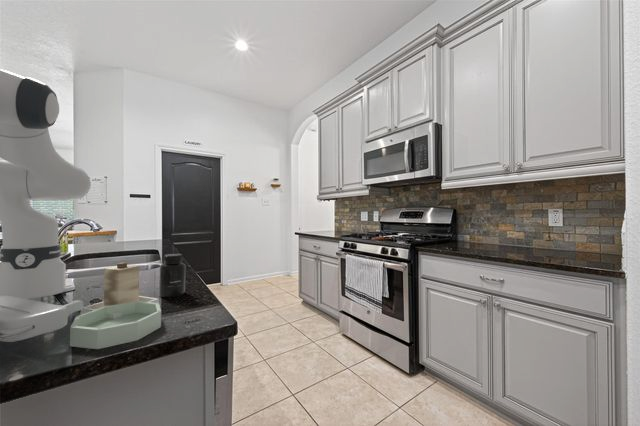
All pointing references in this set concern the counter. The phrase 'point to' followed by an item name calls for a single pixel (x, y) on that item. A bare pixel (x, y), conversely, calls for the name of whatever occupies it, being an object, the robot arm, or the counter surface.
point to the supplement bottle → (172, 276)
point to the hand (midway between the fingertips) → (66, 301)
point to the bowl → (115, 325)
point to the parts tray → (117, 314)
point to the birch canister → (121, 284)
